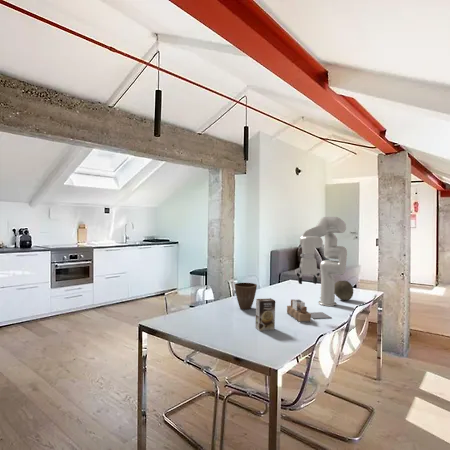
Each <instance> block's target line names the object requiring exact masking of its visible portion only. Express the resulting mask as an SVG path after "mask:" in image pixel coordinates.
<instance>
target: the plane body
mask: <svg viewBox="0 0 450 450" xmlns="http://www.w3.org/2000/svg"><path fill="white" fill-rule="evenodd" d="M293 300H294V299H290V305H287V306H286V314H287V315H288V316H289V317H291V318H292V317H293V318H292V319H294V320H295V321H296V320H297V321H296V322H298V323H299V322H306V323H311V321H312V318H311V314H310V313H311V312H309V311H307V310H308V307H307V306H306V305H305V306H302V307H301V311H296V310H294V309H293V308H292V307H293Z"/></svg>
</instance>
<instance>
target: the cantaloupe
mask: <svg viewBox="0 0 450 450" xmlns="http://www.w3.org/2000/svg"><path fill="white" fill-rule="evenodd" d="M335 296H336V297H337V298H338V299H339V300H342V301H344V300H346V301H348V300H351V299H352V298H353V296H354V288H353V285H352V284H351V282H349V281H347V280H337V281H335Z"/></svg>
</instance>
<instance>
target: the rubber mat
mask: <svg viewBox="0 0 450 450" xmlns="http://www.w3.org/2000/svg"><path fill="white" fill-rule="evenodd" d="M309 313H310V314H311V319H312V318H313V320H317V319H316V318H328V319H332V318H333V317H331V316H329V315H328V314H326V313H325V312H322V311H318V312H315V311H314V312H309Z"/></svg>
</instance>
